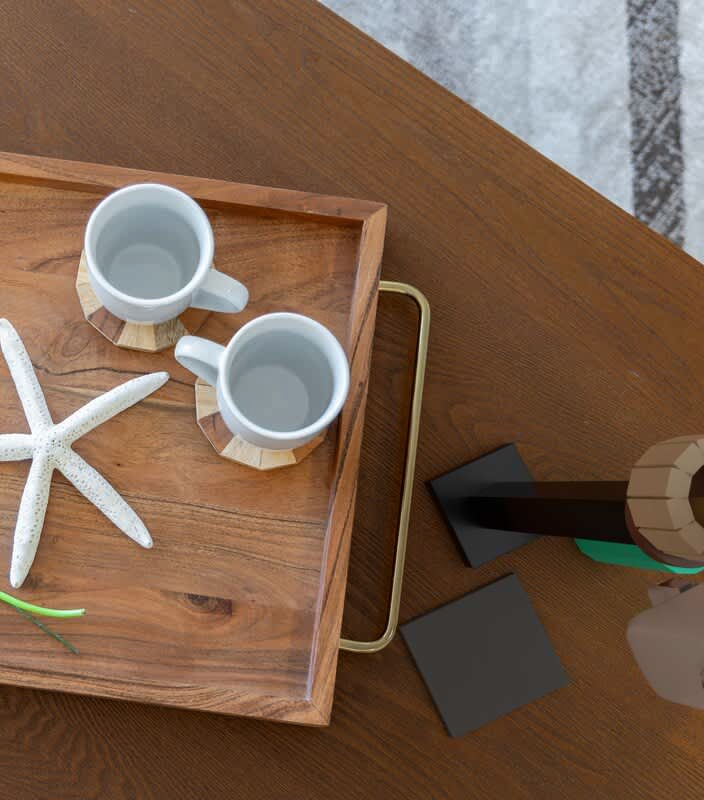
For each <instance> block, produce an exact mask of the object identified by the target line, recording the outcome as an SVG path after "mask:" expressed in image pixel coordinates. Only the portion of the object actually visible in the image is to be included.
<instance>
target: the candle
mask: <svg viewBox="0 0 704 800" xmlns="http://www.w3.org/2000/svg"><path fill="white" fill-rule="evenodd" d="M573 541H574V542H575V544H576V545H577V547H578V549H579V551H580V552H581V553H582V554H584V555H586V556H587V557H589V558H591V559H592V560H593V561H595V562H598V563H605V564H612V565H619V566H625V567H632V568H639V569H645V570H650V571H651V570H652V571H659V572H666V573H672V574H688V575H689V574H692V575H693V574H695V575H696V574H697V573H700V572H702V571H704V567H700V568H680V567H673V566H668V565H664V564H661V563H659V562H657V561H655V560H653V559H651V558H650V557H648V556H647V555H646V554H645V553H643V552H642V551H641V550H640V548H639V547H638V546H637V545H629V544H619V543H610V542H601V541H592V540H583V539H574V538H573Z"/></svg>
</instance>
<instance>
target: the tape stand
mask: <svg viewBox="0 0 704 800" xmlns="http://www.w3.org/2000/svg"><path fill="white" fill-rule="evenodd" d="M526 465H527V464H526V463H525V462H524V460H523V458H522V456H521V453H520V452H519V450H518V448H517V446H516V444H515V442H507V443H503V444H501V445H499V446H498V447H495V448H493V449H491V450H488V451H487V452H484V453H482V454H480V455H478V456H476V457H473V458H472V459H470V460H467V461H465V462H463V463H461V464H459V465H457V466H455V467H452V468H451V469H448V470H446V471H444V472H441V473H440V474H438V475H436V476H433V477H430V478H429V479H426V480H425V481H424V482H423V484H424V485H425V487H426V489H427V491H428V493H429V495H430V497H431V499H432V501H433V503H434V506H435V508H436V510H437V512H438V514H439V516H440V518H441V520H442V522H443V524H444V526H445V527H446V530H447V532H448V535H449V536H450V539H451V540H452V542H453V545H454V546H455V547H456V548H455V549H456V550H457V552H458V555H459V556H460V559H461V561H462V563H463V565H464V566H465V567H464V568H467V569H472V570H473V569H476V568H478V567H480V566H482V565H484V564H487V563H489V562H491V561H493V560H495V559H497V558H499V557H502V556H503V555H506V554H508V553H509V552H512V551H515V550H516V549H518V548H520V547H522V546H524V545H526V544H528V543H531V542H533V541H535V540H537V539H539V538H541V537H543V536H546V537H547V536H548V537H558V538H567V539H573V540H574V539H583V540H592V541H601V542H610V543H619V544H629V545H637V546H638V547H639V548H640V550H641V551H642V552H643V553H645V554H646V555H647V556H648V557H650V558H651V559H653V560H655V561H657V562H659V563H661V564H664V565H668V566H673V567H680V568H700V567H704V562H703V561H695V560H688V559H684V558H680V557H677V556H673V555H669V554H666V553H663V551H662V550H658V549H657V548H656V547H655V546H654V545H653V544H651V543H650V542H649V541H648V540H647V539H646V538H645V537H644V536H643V535H642V534H641V533H640V532H639V531H638V530H639V528H640V527H636V526H635V524H634V521H633V518H632V515H631V511H630V508H629V505H628V502H627V499H630V498H634V497H630V496H627V490H628V485H629V481H630V480H560V481H559V480H555V481H554V480H553V481H552V480H551V481H548V480H547V481H546V480H545V481H534V480H533V477H532V476H531V473H530V472H529V469H528V468H527V466H526ZM688 500H689V504H690V507H691V510H692V513H693V516H694V519H695V521H696V522H697V523H698V524H699V525H700V526H701V527H702V528H704V464H703V465H702V466H701V467H700V469H699V470H698V471H697V472H696V473H695V474H694V475H693V476H692V480H691V485H690V490H689V495H688Z"/></svg>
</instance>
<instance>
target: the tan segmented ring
mask: <svg viewBox="0 0 704 800" xmlns="http://www.w3.org/2000/svg"><path fill="white" fill-rule="evenodd" d="M702 465H704V433H701V434H688V435H680V436H676V437H673V438H669V439H665V440H662V441H658V442H656V443H655V445H654V444H653V445H651V446H650V447H649V448H648V449H647V450H646V451H645V452H644V453H643V455H641V457H640V458H639V459H638V460H637V461H636V462H635V463H634V466H635V468H631V472H630V477H629V480H628V481H629V485H628V490H627V496H630V497H634V498H630V499H627V502H628V505H629V508H630V511H631V515H632V518H633V521H634V524H635V526H636V527H640V528H639V530H638V531H639V532H640V533H641V534H642V535H643V536H644V537H645V538H646V539H647V540H648V541H649V542H650V543H651V544H653V545H654V546H655V547H656V548H657V549H658V550H662V551H663V553H666V554H669V555H673V556H677V557H680V558H684V559H688V560H695V561H703V562H704V528H702V527H701V526H700V525H699V524H698V523H697V522H696V521H695V519H694V516H693V513H692V510H691V507H690V504H689V500H688V495H689V490H690V485H691V480H692V476H693V475H694V474H695V473H696V472H697V471H698V470H699V469H700V467H701V466H702Z"/></svg>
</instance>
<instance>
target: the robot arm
mask: <svg viewBox="0 0 704 800" xmlns="http://www.w3.org/2000/svg"><path fill="white" fill-rule="evenodd" d="M646 595H647V597H648V599H649V601H650V603H651V605H652V606H651V607H650V608H647V609H645V610H643V611H641V612H639V613H637V614H635V615H634V616H632V617H630V619H629V620H628V622H627V624H626V629H625V630H626V631H625V638H626V641H627V644H628V647H629V649H630V651H631V653H632V655H633V658H634V660H635V662H636V665H637V666H638V668H639V669H640V671H641V673H642V675H643V677H644V678H645V681H646V682H647V684H648V685H649V686H650V688H651V689H652V691H653V692H654V693H655V694H656V695H657V696H659V697H660V698H661V699H663V700H666V701H668V702H670V703H671V702H672V703H674V704H677V705H681V706H685V707H689V708H694V709H697V710H701V711H704V581H703V582H702V583H700V584H697V585H695V584H694V583H693V581H692V580H691V579H686V578H685V579H684V578H682V579H678V577H672V578H669V579H668V580H665V581H664V582H662V583H659V584H657V585H655V586H653V587H651V588H648V589H647V590H646Z"/></svg>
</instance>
